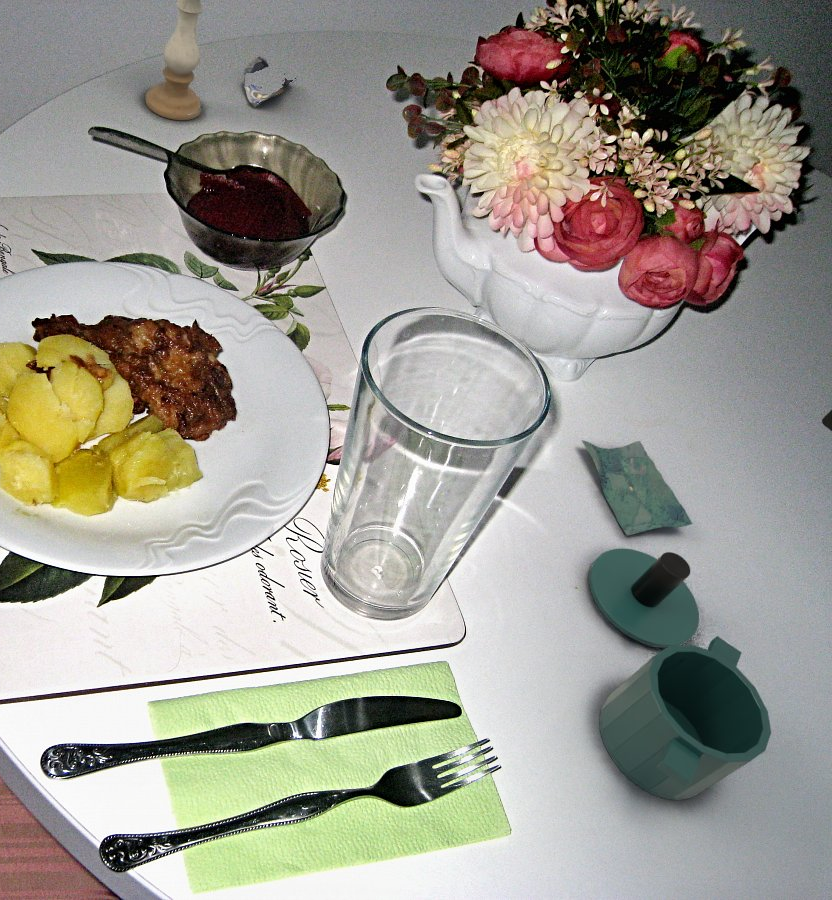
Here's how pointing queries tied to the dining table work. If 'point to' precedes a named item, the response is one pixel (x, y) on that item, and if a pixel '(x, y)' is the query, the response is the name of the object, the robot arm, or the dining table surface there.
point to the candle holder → (179, 68)
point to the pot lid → (645, 596)
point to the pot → (685, 720)
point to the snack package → (257, 93)
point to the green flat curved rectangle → (636, 489)
